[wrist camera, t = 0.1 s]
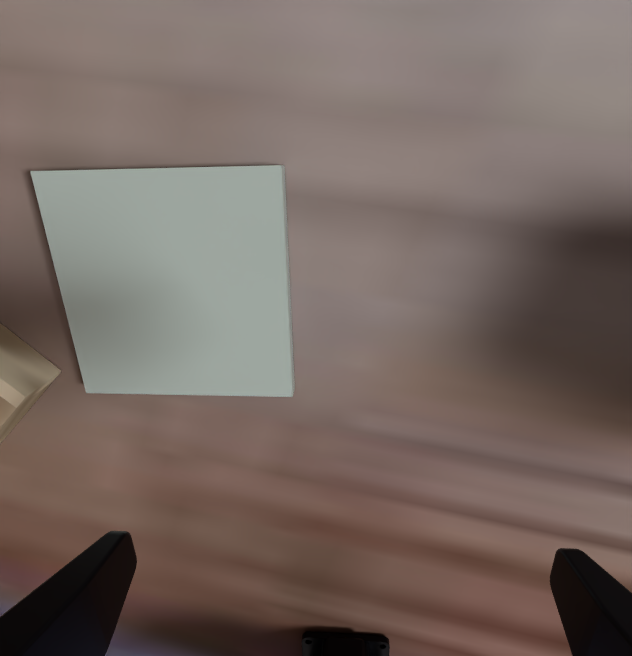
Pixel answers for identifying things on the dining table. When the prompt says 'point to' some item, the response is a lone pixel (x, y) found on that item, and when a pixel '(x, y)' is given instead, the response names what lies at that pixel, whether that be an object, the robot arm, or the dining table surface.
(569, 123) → the dining table surface
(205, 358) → the ceramic coaster
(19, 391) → the maple collar
